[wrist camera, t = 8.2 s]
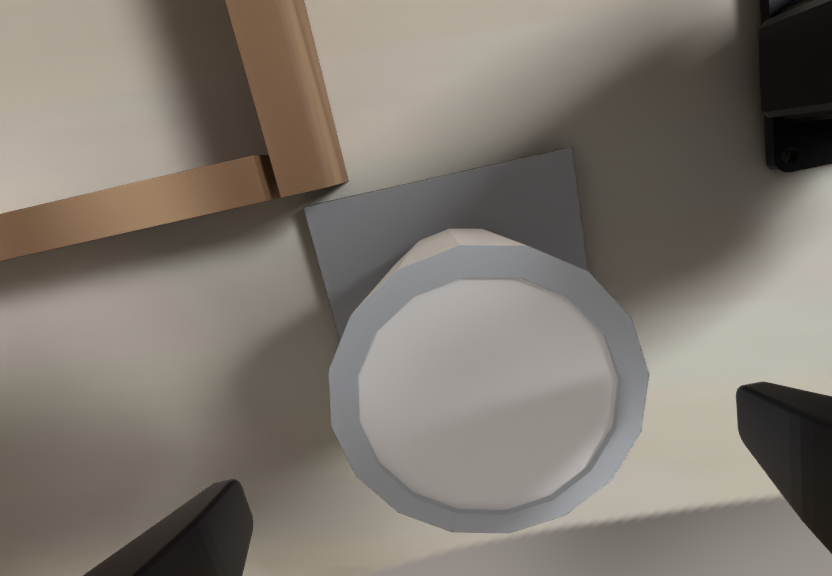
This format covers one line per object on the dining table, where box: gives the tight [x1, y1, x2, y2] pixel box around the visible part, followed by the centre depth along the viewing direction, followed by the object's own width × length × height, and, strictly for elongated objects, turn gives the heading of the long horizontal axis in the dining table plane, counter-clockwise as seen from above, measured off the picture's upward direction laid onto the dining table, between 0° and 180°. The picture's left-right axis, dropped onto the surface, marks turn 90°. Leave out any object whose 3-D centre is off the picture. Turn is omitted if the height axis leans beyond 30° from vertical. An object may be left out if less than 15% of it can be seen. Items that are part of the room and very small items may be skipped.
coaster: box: [303, 148, 588, 341], centre depth 17 cm, size 9×9×1 cm
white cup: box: [329, 229, 649, 533], centre depth 14 cm, size 7×7×7 cm
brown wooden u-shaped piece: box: [0, 0, 348, 261], centre depth 14 cm, size 16×13×4 cm
